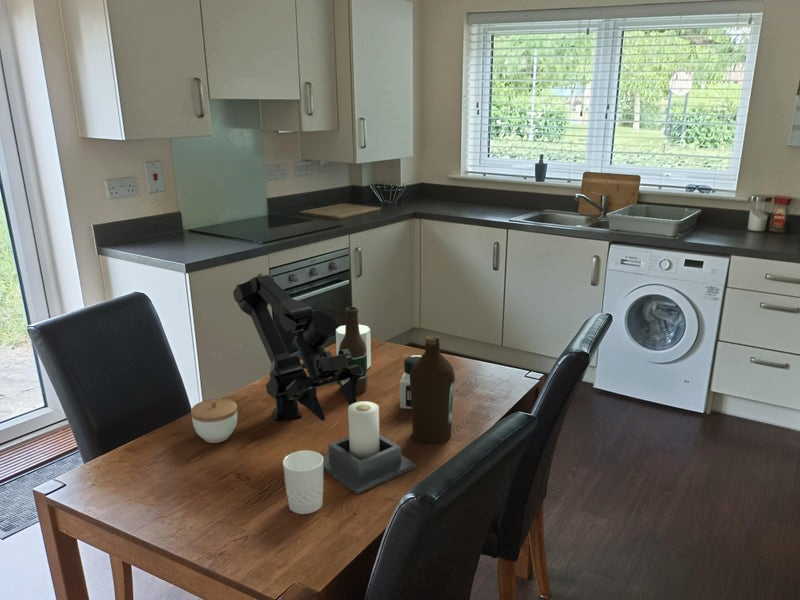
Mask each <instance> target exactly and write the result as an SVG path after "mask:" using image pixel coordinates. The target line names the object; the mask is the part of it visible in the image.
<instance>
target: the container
mask: <svg viewBox="0 0 800 600" xmlns="http://www.w3.org/2000/svg"><path fill="white" fill-rule="evenodd" d="M421 356H422V355H420V354H419V355H417V354H416V355H409V356H408V357H406V358H404V362H403V363H404V366H403V367H404V368H403V369H404V373H403V375H402V377H401V379H400V381H399V408H400V409H407V410H412V407H411V390H410V372H411V369H412V366H413V364H414V363H415V362H416V361H417V360H418V359H419V358H420V357H421Z"/></svg>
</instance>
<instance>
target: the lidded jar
mask: <svg viewBox="0 0 800 600" xmlns="http://www.w3.org/2000/svg"><path fill="white" fill-rule="evenodd" d="M190 415H191V420H192V425H193V428H194V431H195V433H196V435H198V436H199V438H201V439H202V440H204V441H205V442H207V443H209V444H212V443H213V444H217V443H221V442H224V441H226V440H228V439H229V438H230V436H231V435H233V433H234V431H235V430H236V428H237V423H238V404H237V403H236V402H235V401H234V400H232V399H229V398H221V397H220V398H212V399H205V400H203V401H200V402H197V403H196V404H194V405H193V406H192V407H191V410H190Z"/></svg>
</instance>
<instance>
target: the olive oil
mask: <svg viewBox="0 0 800 600" xmlns="http://www.w3.org/2000/svg"><path fill="white" fill-rule="evenodd" d="M424 346H425V347H424V348H425V350H424V353H423V354H422V355H420V356H421V357H420V358H419V359H418V360H417V361H416V362H415V363H414V364H413V366H412V369H411V372H410V390H411V407H412V409H411V423H412V424H411V426H412V428H411V429H412V432H411V433H412V436H413V438H414V439H415V440H417V441H419V443H423V444H430V445H431V444H435V445H436V444H441V443H445V442H446V441H448V440H449V439H450V438H451V437H452V428H453V427H452V426H453V425H452V424H453V409H454V395H455V393H454V392H455V383H456V377H455V375H456V374H455V371H454V368H453V366H452V364H451V362H449V361H448V359H446V358H445V357H444V355H443V354H442V353H441V352H440V346H441V343H440V336H437V335H427V336H426V337H425V343H424Z"/></svg>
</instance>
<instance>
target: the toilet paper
mask: <svg viewBox="0 0 800 600" xmlns="http://www.w3.org/2000/svg"><path fill="white" fill-rule="evenodd" d="M358 324H359V332H360V336H361V337H362V339H363V340H364V342H365V344H366V349H367V369H368V368H369V367H370V366H372V353H371V351H372V349H371V346H372V345H371V328H370V327H369V326H367V325H363V324H360V323H358ZM345 328H346V324H344V325H340V326H338V327H337V328H336V331H335V342H336V344H335V345H336V355H338V351H339V347H340V344H341V342H342V340H343V339H344V337H345ZM370 368H371V367H370ZM370 368H369V369H370ZM369 369H368V370H369Z"/></svg>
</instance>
